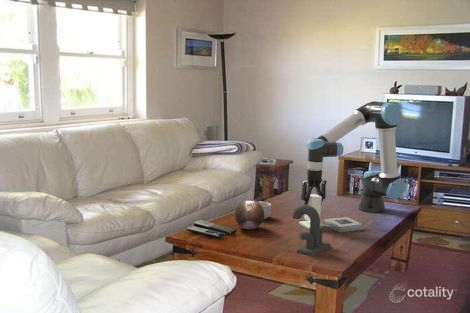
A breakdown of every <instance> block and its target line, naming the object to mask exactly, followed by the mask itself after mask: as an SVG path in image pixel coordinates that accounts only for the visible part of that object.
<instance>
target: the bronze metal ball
mask: <svg viewBox="0 0 470 313" xmlns="http://www.w3.org/2000/svg"><path fill="white" fill-rule="evenodd" d="M258 202H259V201H257V200H255V199H244V200H242V201H241V202H239V203H238V204H237V205H236V207H235V209H234V219H235V221H236V223H237V225H238V226H239V227H241V228H242V229H244V230H245V229H246V230H255V229H257V228H259V226H261V225H262V223H263V221H264V220H265V219H264V210H263V207H262V206H261V205H260V204H259V203H258Z"/></svg>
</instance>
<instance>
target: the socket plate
mask: <svg viewBox="0 0 470 313" xmlns="http://www.w3.org/2000/svg"><path fill="white" fill-rule="evenodd" d="M323 224H324V225H325V226H326V227H328V228H330V229H332V230H334V231H336V232H338V233H347V232H355V231H356V232H357V231H363V230H364V229H363V228H364V224H363V223H361V222H359V221H357V220H354V219H352V218H350V217H348V216H343V217H335V218H334V217H333V218H324V223H323Z"/></svg>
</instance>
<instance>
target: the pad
mask: <svg viewBox="0 0 470 313" xmlns="http://www.w3.org/2000/svg"><path fill="white" fill-rule="evenodd" d="M298 224H299V225H301V226H303V227H304V228H306V229H308V230H310V222H309V221H307V220H302V221H301V220H300V221H298ZM324 224H325V223H322V222H320V226H321V225H324ZM324 226H326V225H324Z"/></svg>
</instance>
